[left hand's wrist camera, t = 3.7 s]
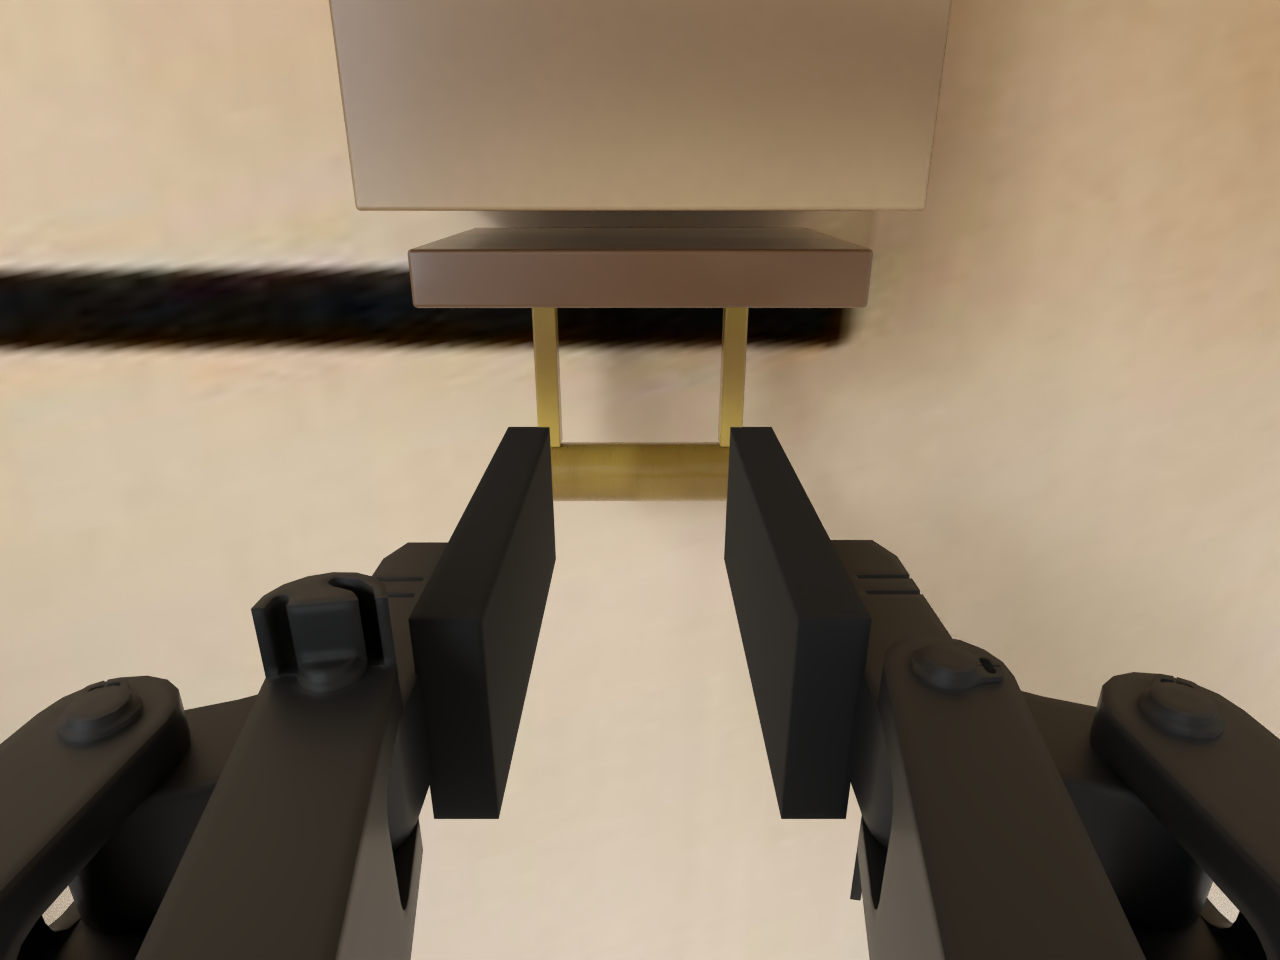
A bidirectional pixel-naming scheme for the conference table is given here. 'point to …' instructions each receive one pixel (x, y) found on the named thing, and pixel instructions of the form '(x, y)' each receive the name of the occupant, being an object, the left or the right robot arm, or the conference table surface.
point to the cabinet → (640, 103)
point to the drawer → (640, 278)
